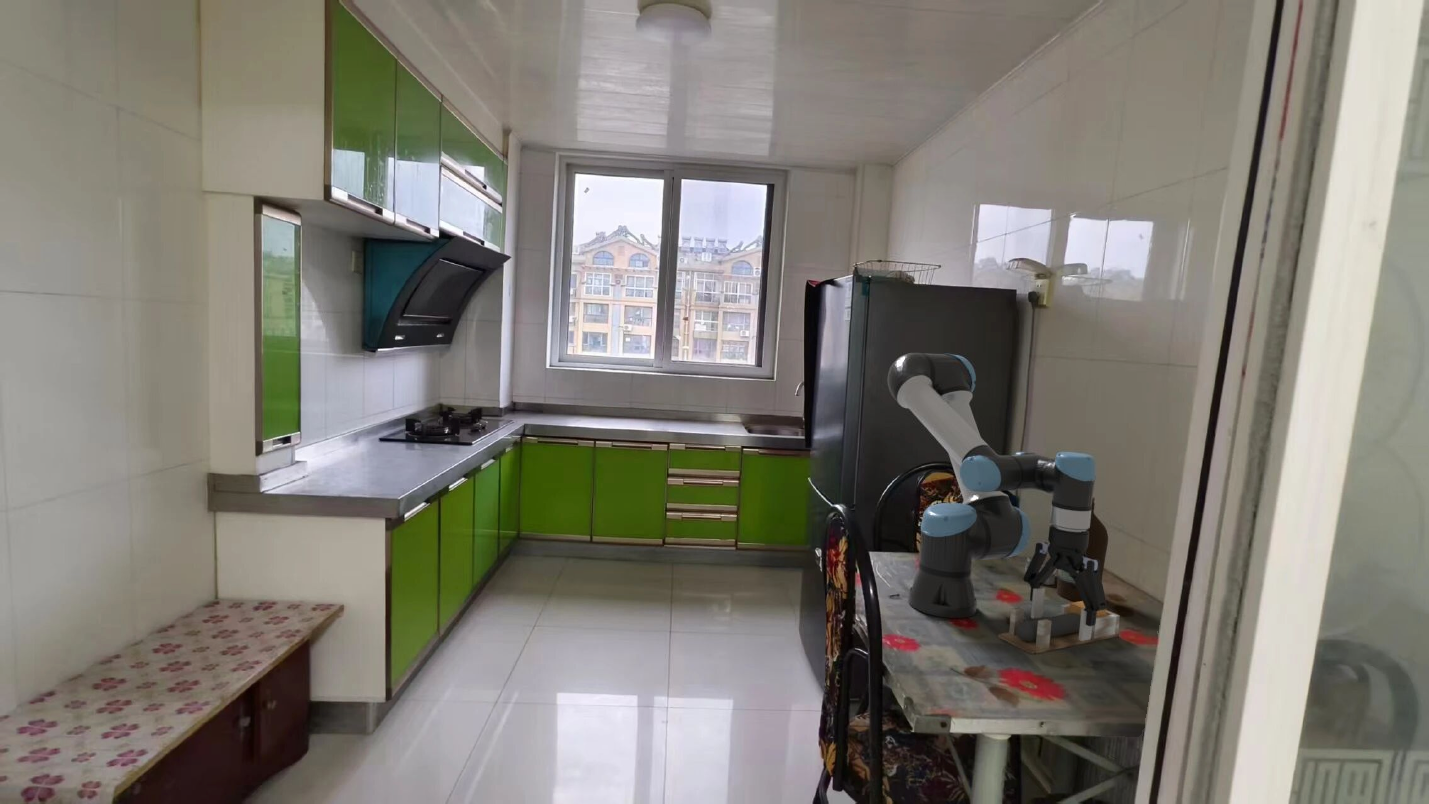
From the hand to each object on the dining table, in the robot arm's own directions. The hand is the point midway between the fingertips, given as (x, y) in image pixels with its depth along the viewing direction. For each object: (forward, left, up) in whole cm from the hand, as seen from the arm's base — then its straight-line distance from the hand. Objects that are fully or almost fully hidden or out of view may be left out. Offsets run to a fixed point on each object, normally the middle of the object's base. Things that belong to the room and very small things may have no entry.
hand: (1059, 628), depth 153 cm
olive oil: (-16, +26, -2) cm, 31 cm away
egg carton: (-29, +28, -2) cm, 41 cm away
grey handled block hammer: (0, -1, -1) cm, 1 cm away
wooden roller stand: (0, 0, -2) cm, 2 cm away
